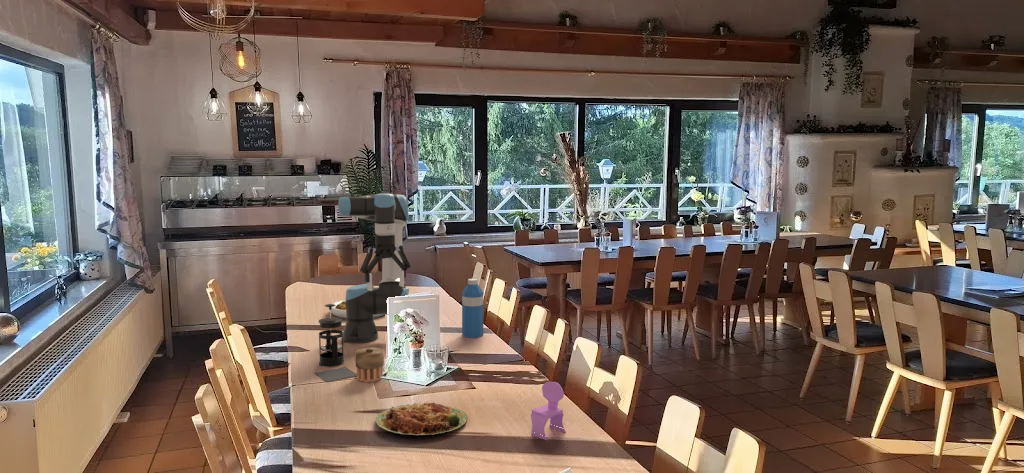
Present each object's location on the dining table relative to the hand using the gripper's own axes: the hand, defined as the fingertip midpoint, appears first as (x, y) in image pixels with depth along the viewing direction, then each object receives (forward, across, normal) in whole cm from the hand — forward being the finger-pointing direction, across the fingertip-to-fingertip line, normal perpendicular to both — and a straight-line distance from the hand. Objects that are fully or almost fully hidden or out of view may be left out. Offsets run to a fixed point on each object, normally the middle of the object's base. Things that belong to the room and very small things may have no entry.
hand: (385, 288), depth 281 cm
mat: (+28, -24, -7) cm, 37 cm away
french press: (+28, -20, +7) cm, 35 cm away
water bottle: (+29, +47, +11) cm, 56 cm away
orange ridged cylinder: (+28, -16, -18) cm, 37 cm away
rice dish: (+28, -20, -65) cm, 74 cm away
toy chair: (+28, +6, -94) cm, 98 cm away
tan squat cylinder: (+23, -16, -18) cm, 33 cm away
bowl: (+30, +24, +78) cm, 87 cm away
